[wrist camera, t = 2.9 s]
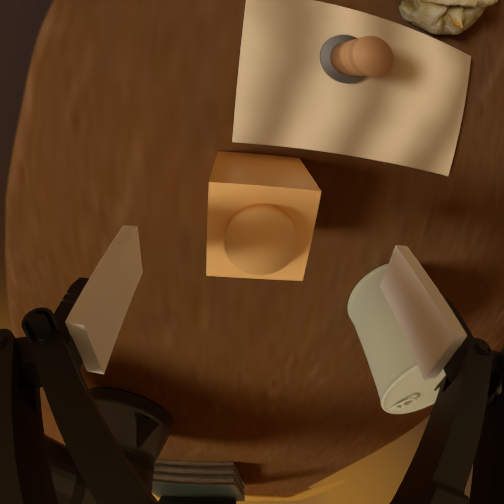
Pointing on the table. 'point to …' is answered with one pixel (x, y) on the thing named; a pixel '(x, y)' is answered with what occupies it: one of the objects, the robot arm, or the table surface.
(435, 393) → the can
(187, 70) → the table surface
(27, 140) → the table surface
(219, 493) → the dark boxy piece
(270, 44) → the flat beige board
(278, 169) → the cube with dome bump
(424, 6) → the pastry
